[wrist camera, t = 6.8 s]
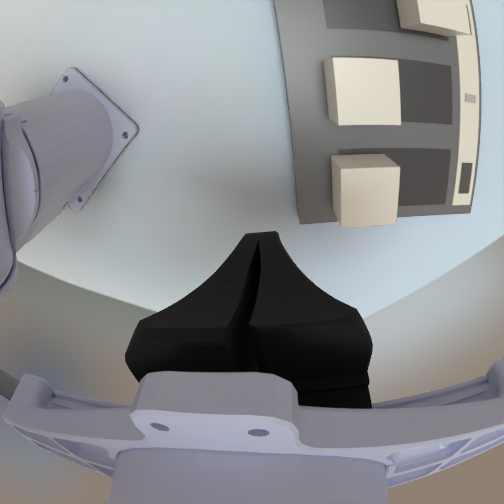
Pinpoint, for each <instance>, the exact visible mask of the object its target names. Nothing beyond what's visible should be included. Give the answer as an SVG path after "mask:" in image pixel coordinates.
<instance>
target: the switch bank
mask: <svg viewBox="0 0 504 504" xmlns="http://www.w3.org/2000/svg"><path fill="white" fill-rule="evenodd" d="M273 2H274V8H275V14H276V20H277V27H278V33H279V40H280V47H281V54H282V61H283V68H284V76H285V84H286V92H287V100H288V109H289V117H290V127H291V136H292V146H293V157H294V168H295V179H296V191H297V204H298V216H299V222H300V224H310V223H323V222H336V221H338V219H337V217H336V214H335V212H334V210H333V195H332V165H331V156H332V155H354V154H385V155H386V156H387V157H388V158H390V159H391V160H392V161H393V162H395V163H396V164H397V165H398V166H399V167H400V181H399V196H398V208H397V217H410V216H427V215H446V214H466V213H470V212H471V206H472V201H473V195H474V188H475V182H476V174H477V166H478V156H479V145H480V130H481V71H480V56H479V46H478V37H477V29H476V22H475V16H474V10H473V5H472V0H465V2H466V8H467V13H468V19H469V26H470V33H471V35H457V36H443V35H439V34H434V33H429V32H423V31H417V30H411V29H404V28H401V26H400V19H399V13H398V7H397V1H396V0H273ZM329 58H373V59H388V60H398V69H399V83H400V105H401V125H338V124H336V123H335V122H334V121H332V120H331V119H330V118H329V115H328V103H327V92H326V82H325V73H324V64H323V60H326V59H329Z"/></svg>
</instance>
